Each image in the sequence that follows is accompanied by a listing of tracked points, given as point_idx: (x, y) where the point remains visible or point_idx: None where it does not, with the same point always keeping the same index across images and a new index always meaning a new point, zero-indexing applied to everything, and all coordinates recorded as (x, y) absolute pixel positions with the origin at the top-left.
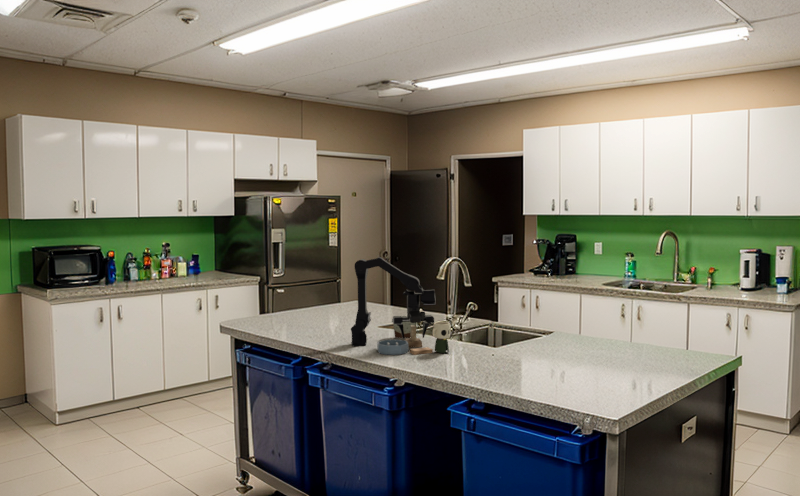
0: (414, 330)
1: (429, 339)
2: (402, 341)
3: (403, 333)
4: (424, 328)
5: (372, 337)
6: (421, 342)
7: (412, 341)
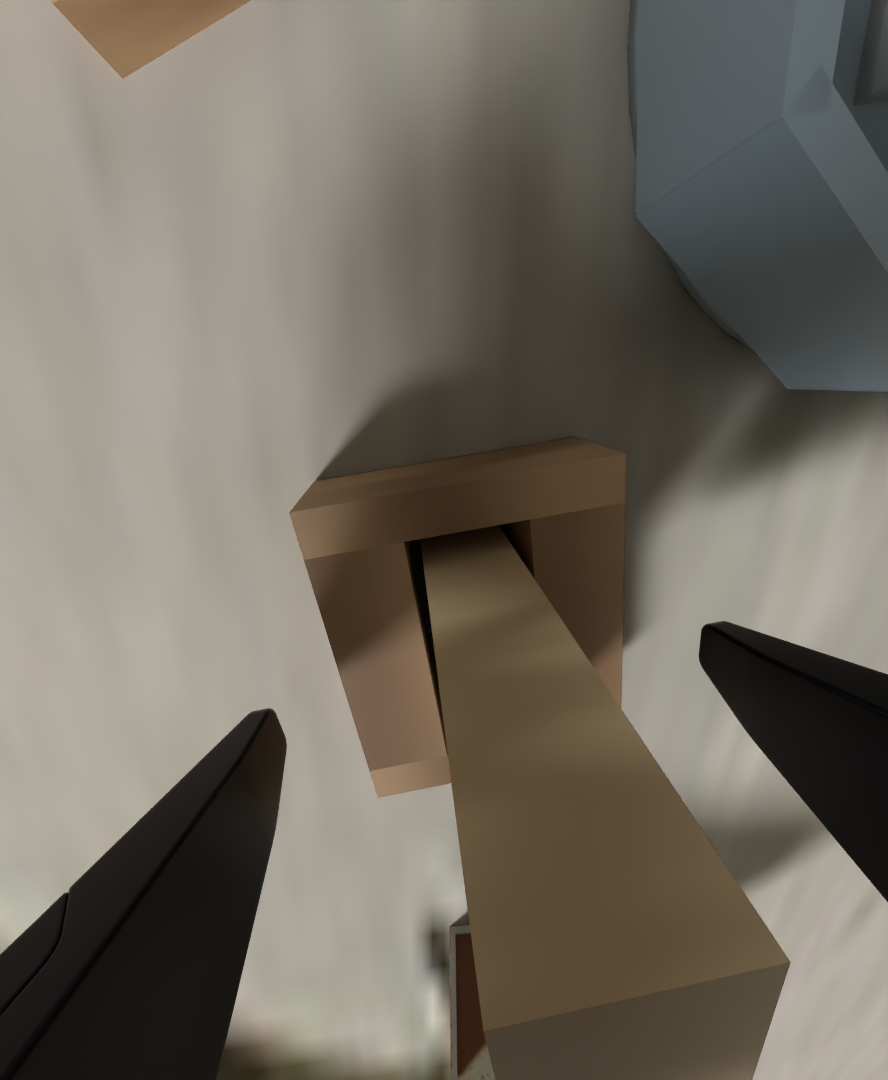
0: (538, 781)
1: (260, 915)
2: (866, 193)
3: (839, 680)
4: (33, 1023)
5: (853, 906)
6: (304, 504)
7: (507, 554)
